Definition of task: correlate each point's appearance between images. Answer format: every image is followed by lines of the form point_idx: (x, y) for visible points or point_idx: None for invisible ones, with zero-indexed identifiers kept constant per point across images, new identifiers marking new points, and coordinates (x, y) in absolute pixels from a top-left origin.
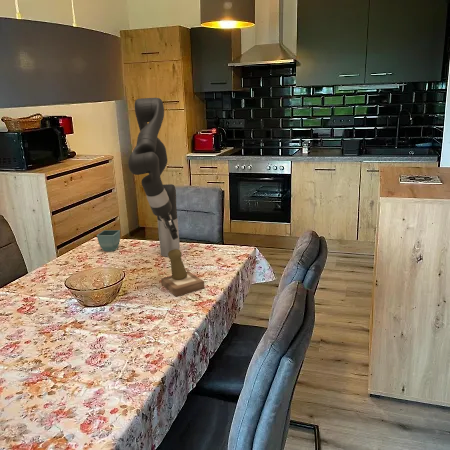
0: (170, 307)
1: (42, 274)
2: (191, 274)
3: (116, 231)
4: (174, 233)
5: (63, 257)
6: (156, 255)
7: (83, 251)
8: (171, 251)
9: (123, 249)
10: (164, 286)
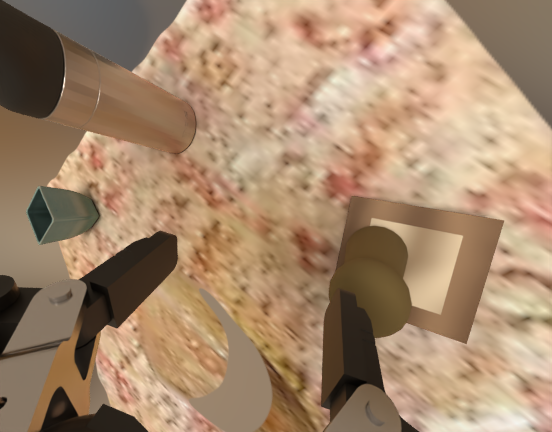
0: (520, 405)
1: (112, 370)
2: (389, 207)
3: (40, 192)
4: (369, 380)
5: None
6: (165, 161)
7: (74, 253)
8: None
9: (102, 194)
10: None
